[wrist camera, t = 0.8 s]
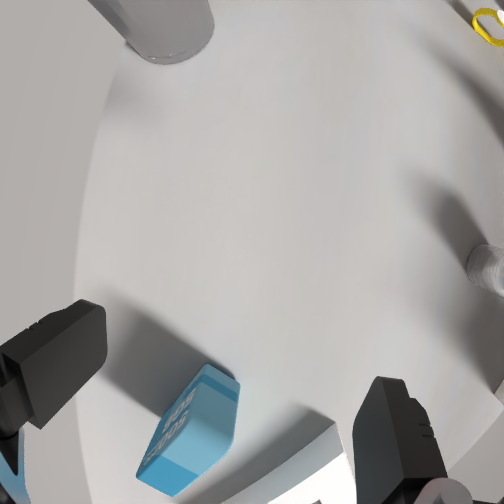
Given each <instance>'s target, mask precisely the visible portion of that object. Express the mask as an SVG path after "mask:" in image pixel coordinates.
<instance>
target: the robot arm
mask: <svg viewBox="0 0 504 504" xmlns="http://www.w3.org/2000/svg"><path fill="white" fill-rule="evenodd" d="M88 1H89V2H90V3H91V4H92V5H93V6H94V7H95V8H96V9H97V10H98V11H99V12H100V13H101V14H102V15H103V17H105V19H107V21H108V22H109V23H110V24H111V25H112V26H113V27H114V28H115V29H116V30H117V31H118V32H119V33H120V34H121V35H122V36H123V37H124V38H125V39H126V41H127V42H128V43H129V44H130V45H131V46H132V47H133V48H134V49H135V50H136V51H137V52H138V53H139V54H140V55H141V56H142V57H143V58H144V59H146V60H147V61H149V62H152V63H155V64H163V65H165V64H174V63H178V62H182V61H184V60H186V59H189V58H190V57H192V56H194V55H195V54H197V53H198V52H199V51H200V50H201V49H203V48H204V47H205V45H206V44H207V43H208V41H209V40H210V38H211V36H212V33H213V29H214V20H213V16H212V13H211V10H210V6H209V3H208V0H88ZM106 356H107V332H106V312H105V309H104V308H103V307H102V306H100V305H97V304H94V303H91V302H89V301H86V300H83V299H81V300H78V301H77V302H75V303H73V304H72V305H70V306H69V307H67V308H66V309H63V310H60V311H56V312H53V313H50V314H48V315H47V316H45V317H43V318H42V319H40V320H39V321H38V323H37V322H36V323H34V324H33V325H31V326H30V327H29V329H28V328H27V329H25V330H24V331H22V332H20V333H19V334H17V335H16V336H14V337H13V338H12V339H10V340H8V341H7V342H5V343H4V344H3V345H1V346H0V504H31V501H30V499H29V496H28V493H27V491H26V487H25V478H24V429H23V425H24V424H25V423H26V422H27V421H28V422H30V423H31V424H33V425H34V426H36V427H37V428H39V429H42V428H43V427H44V426H45V425H46V424H47V423H48V421H49V420H50V419H51V418H52V417H53V416H54V415H55V414H56V413H57V412H58V411H59V410H60V409H61V408H62V407H63V406H64V405H65V403H67V402H68V401H69V400H70V399H71V398H72V397H73V396H74V394H75V393H76V392H77V391H78V390H79V389H80V388H81V387H82V386H83V385H84V384H85V383H86V382H87V381H88V380H89V379H90V378H91V377H92V376H93V375H94V374H95V373H96V372H97V371H98V370H99V369H100V368H101V367H102V365H103V364H104V362H105V360H106ZM352 437H353V449H354V463H355V479H356V499H357V504H496V503H489V502H482V501H475V500H472V496H471V494H470V492H469V491H468V489H467V488H466V487H465V486H464V485H463V484H462V483H460V482H458V481H456V480H454V479H450V478H448V476H447V472H446V469H445V466H444V463H443V459H442V456H441V453H440V450H439V447H438V444H437V441H436V438H434V432H433V429H432V427H430V421H429V418H428V415H427V413H426V410H425V409H424V408H423V407H422V406H421V404H420V403H419V402H418V401H417V400H416V399H415V398H410V397H409V394H408V391H407V388H406V385H405V383H404V381H403V380H402V379H395V378H387V377H380V376H378V377H376V378H375V379H374V381H373V383H372V385H371V387H370V389H369V391H368V393H367V395H366V397H365V399H364V401H363V403H362V405H361V407H360V409H359V411H358V413H357V416H356V418H355V421H354V425H353V431H352ZM497 504H504V497H503V498H502V499H501V500H500V501H499V502H498V503H497Z"/></svg>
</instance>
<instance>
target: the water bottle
mask: <svg viewBox="0 0 504 504" xmlns="http://www.w3.org/2000/svg"><path fill="white" fill-rule="evenodd" d="M467 275H468V278H469V280H470V281H471V282H472V283H474V284H476V285H478V286H480V287H482V288H484V289H486V290H488V291H490V292H493V293H495V294H497V295H499V296H501V297H503V298H504V249H500V248H497V247H493V246H489V245H485V244H481V245H478V246H476V247H475V248H474V249H473V250H472V252H471V253H470V255H469V257H468V261H467Z"/></svg>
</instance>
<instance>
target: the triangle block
mask: <svg viewBox="0 0 504 504" xmlns="http://www.w3.org/2000/svg"><path fill="white" fill-rule="evenodd" d="M319 499H320V501H321V503H322V504H357V499H356V483H355V480H354V477H353V474H352V470H351V467H350V464H349V461H348V458H347V455H346V452H345V449H344V446H343V443H342V440H341V437H340V434H339V431H338V428H337V425H336V422H335V423H334V424H333V425H332V426H330V427H329V428H328V429H327V430H326V431H324V432H323V433H322V434H321V435H319V436H318V437H317V438H316V439H314V440H313V441H312V442H311V443H309V444H308V445H307V446H305V447H304V448H303V449H302V450H300V451H299V452H298V453H296V454H295V455H294V456H292V457H291V458H289V459H288V460H287V461H285V462H284V463H283V464H281V465H280V466H278V467H277V468H275V469H274V470H273V471H271V472H270V473H268V474H267V475H265V476H264V477H262V478H261V479H259V480H258V481H256V482H255V483H253V484H252V485H250V486H248V487H247V488H245V489H244V490H242V491H240V492H239V493H237V494H235V495H234V496H232V497H230V498H229V499H227V500H225V501H224V502H222V503H220V504H312V503H314V502H316V501H317V500H319Z"/></svg>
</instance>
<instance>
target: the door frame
mask: <svg viewBox="0 0 504 504" xmlns="http://www.w3.org/2000/svg"><path fill="white" fill-rule="evenodd" d="M494 396H495V397H496V398H497V399H498V400H499V401H500V402H501V403H502V404H503V405H504V380H503V382H502V383H501V385H500V386H499V388H498V389H497V391H496V392H495V394H494Z"/></svg>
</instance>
